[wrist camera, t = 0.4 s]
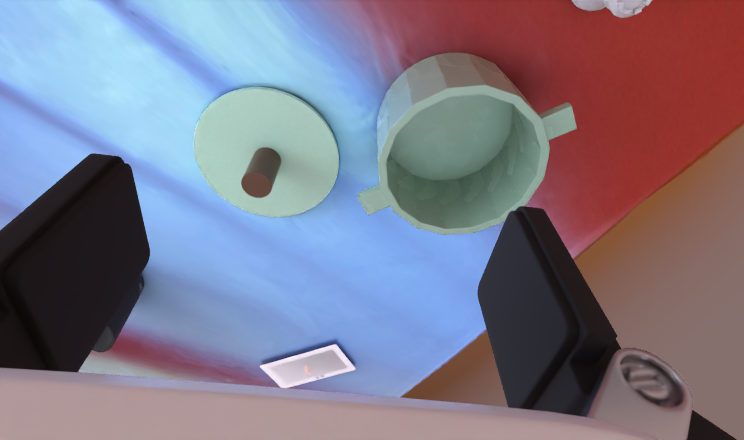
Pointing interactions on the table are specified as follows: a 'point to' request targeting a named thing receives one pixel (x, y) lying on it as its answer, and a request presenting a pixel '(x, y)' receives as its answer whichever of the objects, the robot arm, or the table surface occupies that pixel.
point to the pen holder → (119, 318)
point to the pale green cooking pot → (459, 145)
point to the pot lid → (266, 152)
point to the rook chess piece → (614, 6)
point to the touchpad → (308, 366)
